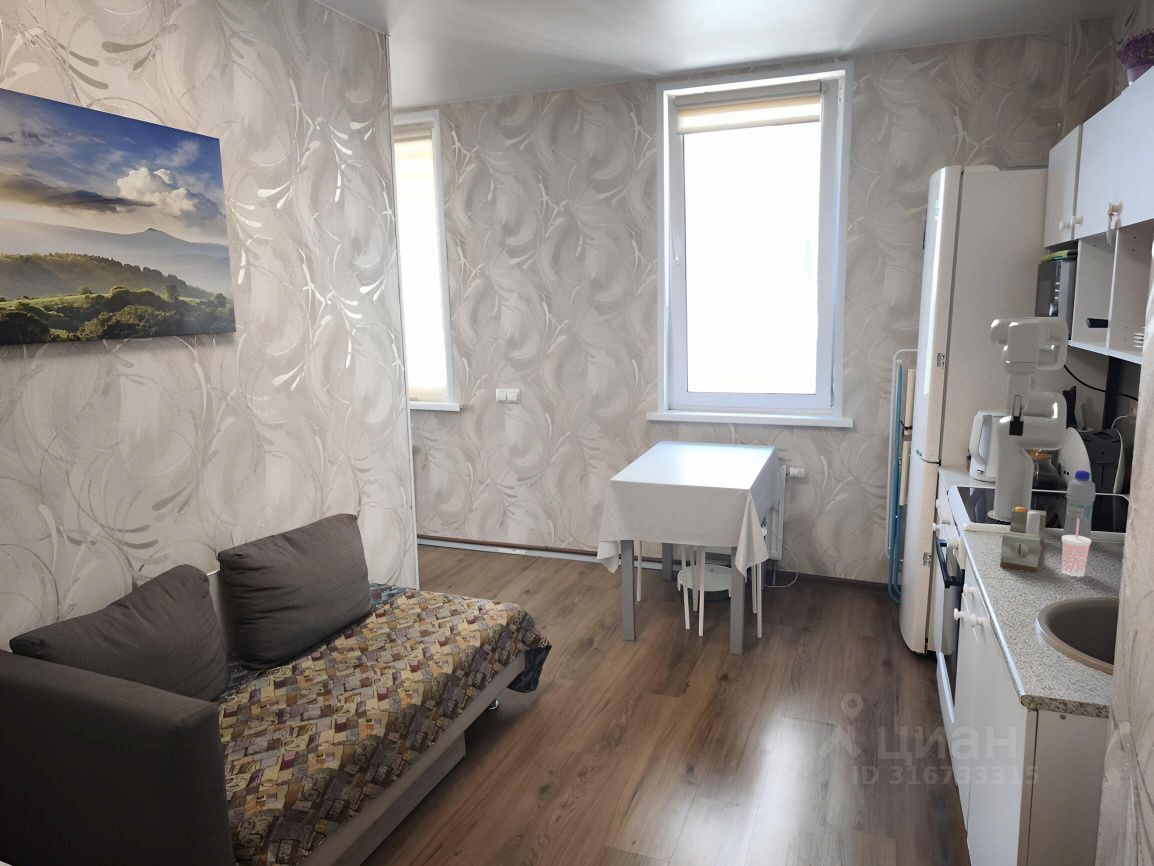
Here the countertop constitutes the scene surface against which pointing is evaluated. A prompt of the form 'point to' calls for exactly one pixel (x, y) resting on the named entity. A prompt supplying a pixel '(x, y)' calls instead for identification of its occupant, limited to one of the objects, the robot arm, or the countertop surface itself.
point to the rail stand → (1022, 543)
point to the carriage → (1033, 523)
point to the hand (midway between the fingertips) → (1015, 435)
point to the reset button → (1020, 509)
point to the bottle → (1079, 504)
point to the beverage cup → (1075, 553)
